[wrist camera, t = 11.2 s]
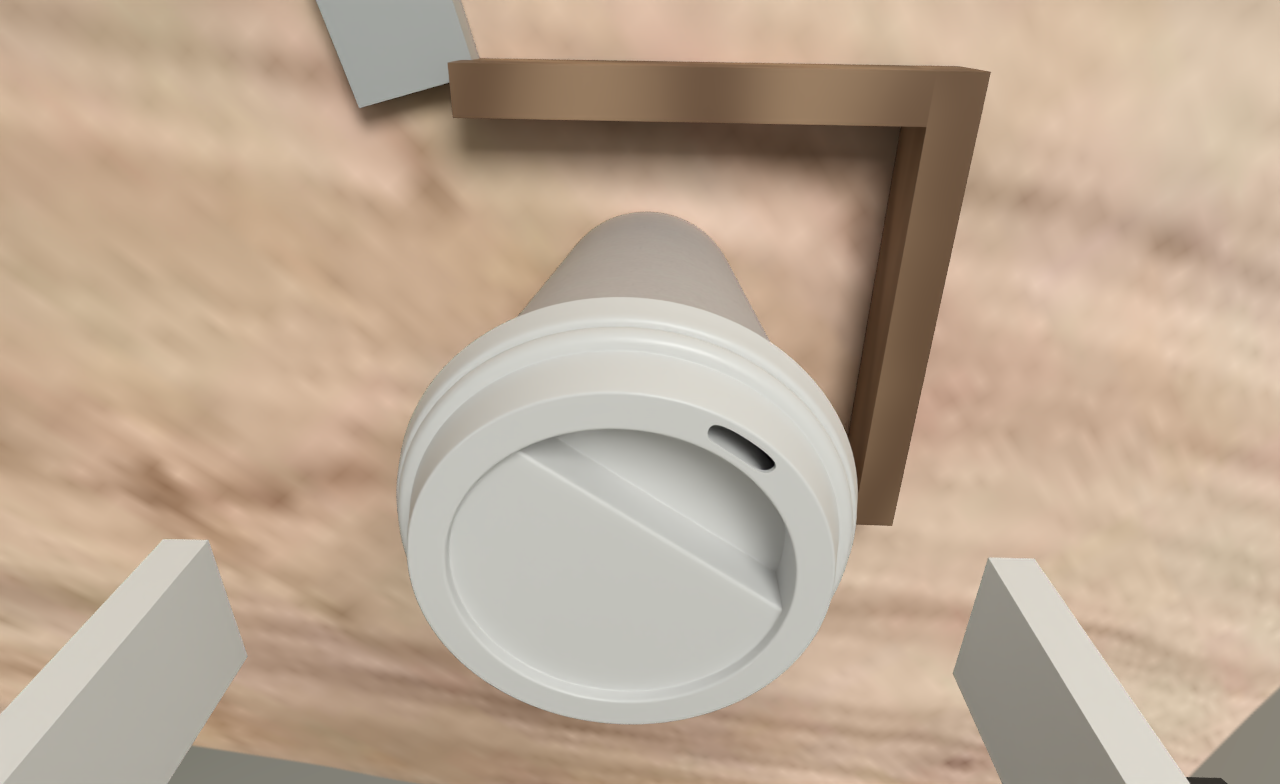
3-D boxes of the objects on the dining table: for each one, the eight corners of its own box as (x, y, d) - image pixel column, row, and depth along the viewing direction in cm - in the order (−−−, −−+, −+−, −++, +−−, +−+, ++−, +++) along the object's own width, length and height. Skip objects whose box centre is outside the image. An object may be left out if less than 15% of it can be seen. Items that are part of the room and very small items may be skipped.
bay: (505, 475, 31) (492, 511, 28) (469, 58, 23) (447, 62, 21) (876, 488, 30) (892, 525, 28) (959, 66, 23) (990, 71, 20)
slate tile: (371, 104, 24) (359, 108, 23) (317, -31, 22) (302, -33, 21) (484, 72, 23) (476, 74, 22) (438, -70, 22) (428, -73, 21)
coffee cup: (822, 339, 27) (965, 651, 14) (610, 450, 30) (557, 801, 16) (693, 108, 24) (716, 227, 10) (465, 257, 26) (249, 506, 13)
